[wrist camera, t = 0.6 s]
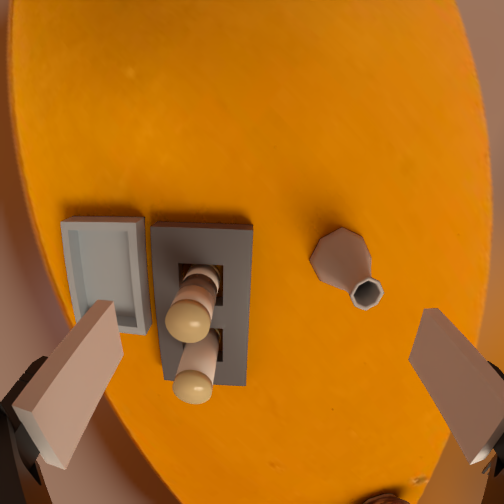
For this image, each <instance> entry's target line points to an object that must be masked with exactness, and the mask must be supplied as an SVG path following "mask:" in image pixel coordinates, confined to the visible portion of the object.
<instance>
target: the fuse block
mask: <svg viewBox="0 0 504 504" xmlns="http://www.w3.org/2000/svg"><path fill="white" fill-rule="evenodd" d="M252 243H253V225H248V224H223V223H195V222H160V221H157V222H156V223H154V224H153V225H152V226H151V250H152V267H153V282H154V294H155V306H156V316H157V326H158V335H159V344H160V352H161V360H162V367H163V374H164V380H170V381H174V380H175V376H176V373H177V370H178V367H179V363H180V360H181V357H182V354H183V350H184V347H185V344H186V342H182V341H179V340H177V339H176V338H174V337H173V336H172V335H171V334H170V333H169V331H168V330H167V328H166V324H165V318H166V315H167V313H168V310H169V308H170V306H171V304H172V302H173V300H174V298H175V296H176V294H177V292H178V290H179V288H180V286H181V284H182V282H183V263H187V264H208V265H223V297H218V296H217V297H216V302H215V306H214V310H213V315H212V319H211V324H210V328H219V329H223V351H222V350H218V355H217V361H216V368H215V374H214V381H213V384H216V385H233V386H246V370H247V349H248V328H249V306H250V285H251V264H252Z"/></svg>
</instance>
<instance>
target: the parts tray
mask: <svg viewBox="0 0 504 504" xmlns="http://www.w3.org/2000/svg"><path fill="white" fill-rule="evenodd" d="M61 232H62V241H63V249H64V257H65V264H66V271H67V277H68V283H69V289H70V294H71V300H72V305H73V310H74V315H75V319H76V324H77V323H78V321H79V320H80V319H81V318H82V317H83V316H84V315H85V313H86V312H87V311H88V310H89V309H90V308H91V307H92V305H93V304H94V303H95V302H96V301H97V300H108V301H114V306H115V312H116V318H117V324H118V329H119V332H121V333H130V334H138V335H146V334H147V332H148V330H149V328H150V326H151V325H152V317H151V307H150V296H149V285H148V272H147V257H146V239H145V217H120V216H72V217H70V218H68V219H65V220H63V221H61Z"/></svg>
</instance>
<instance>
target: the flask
mask: <svg viewBox="0 0 504 504" xmlns="http://www.w3.org/2000/svg"><path fill="white" fill-rule="evenodd" d="M309 261H310V263H311V265H312V267H313V269H314V271H315V272H316V274H317V276H318V278H319V280H320V281H322V282H325V283H327V284H330V285H332V286H334V287H337V288H339V289H342V290H346V291H347V292H348V293H349V296H350V298H351V300H352V302H353V304H354V306H355V307H358V308H360V309H363V310H365V311H366V310H368V309H370V308H371V307H373V306H375V305H377V304H378V302H379V301H380V299H381V297H382V296H383V294H384V291H383V289H382V286H381V284H380V282H379V281H378V280H376V279H374V278H372V277H371V256H370V253H369V251H368V249H367V246H366V244H365V242H364V239H363V237H361V236H359V235H357V234H355V233H353V232H351V231H349V230H347V229H345V228H343V227H341V228H340V229H338V230H336V231H334V232H332V233H330V234H328V235H327V236H325V237H323V238H321V239H320V241H319V243H318V245H317V247H316V248H315V250H314V252H313V254H312V256H311V258H310V260H309Z"/></svg>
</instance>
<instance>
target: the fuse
mask: <svg viewBox="0 0 504 504" xmlns="http://www.w3.org/2000/svg"><path fill="white" fill-rule="evenodd" d="M219 342H220V330H219V328H209V332H208V334H207V336H206V337H205V338H204V339H202V340H201V341H198V342H195V343H186V344H185V347H184V350H183V354H182V357H181V360H180V363H179V367H178V370H177V373H176V376H175V380H174V383H173V391H174V393H175V395H176V396H177V397H178V398H179V399H181V400H182V401H184V402H187V403H191V404H201V403H204V402H206V401H207V400H209V398H210V397H211V394H212V388H213V381H214V374H215V368H216V361H217V355H218V348H219Z"/></svg>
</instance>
